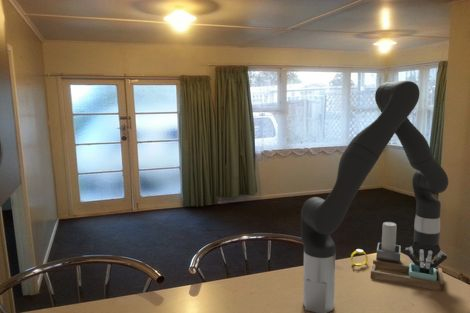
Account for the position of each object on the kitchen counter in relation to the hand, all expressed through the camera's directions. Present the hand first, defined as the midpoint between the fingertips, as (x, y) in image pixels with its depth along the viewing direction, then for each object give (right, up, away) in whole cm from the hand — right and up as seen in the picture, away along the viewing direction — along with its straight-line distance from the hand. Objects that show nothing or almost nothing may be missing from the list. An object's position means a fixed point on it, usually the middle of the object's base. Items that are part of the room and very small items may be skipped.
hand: (424, 277), depth 120 cm
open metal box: (-6, 0, +14) cm, 15 cm away
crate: (-1, -1, 0) cm, 1 cm away
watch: (-17, 0, +14) cm, 22 cm away
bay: (-5, -2, +3) cm, 6 cm away
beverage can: (-6, +4, +13) cm, 15 cm away
